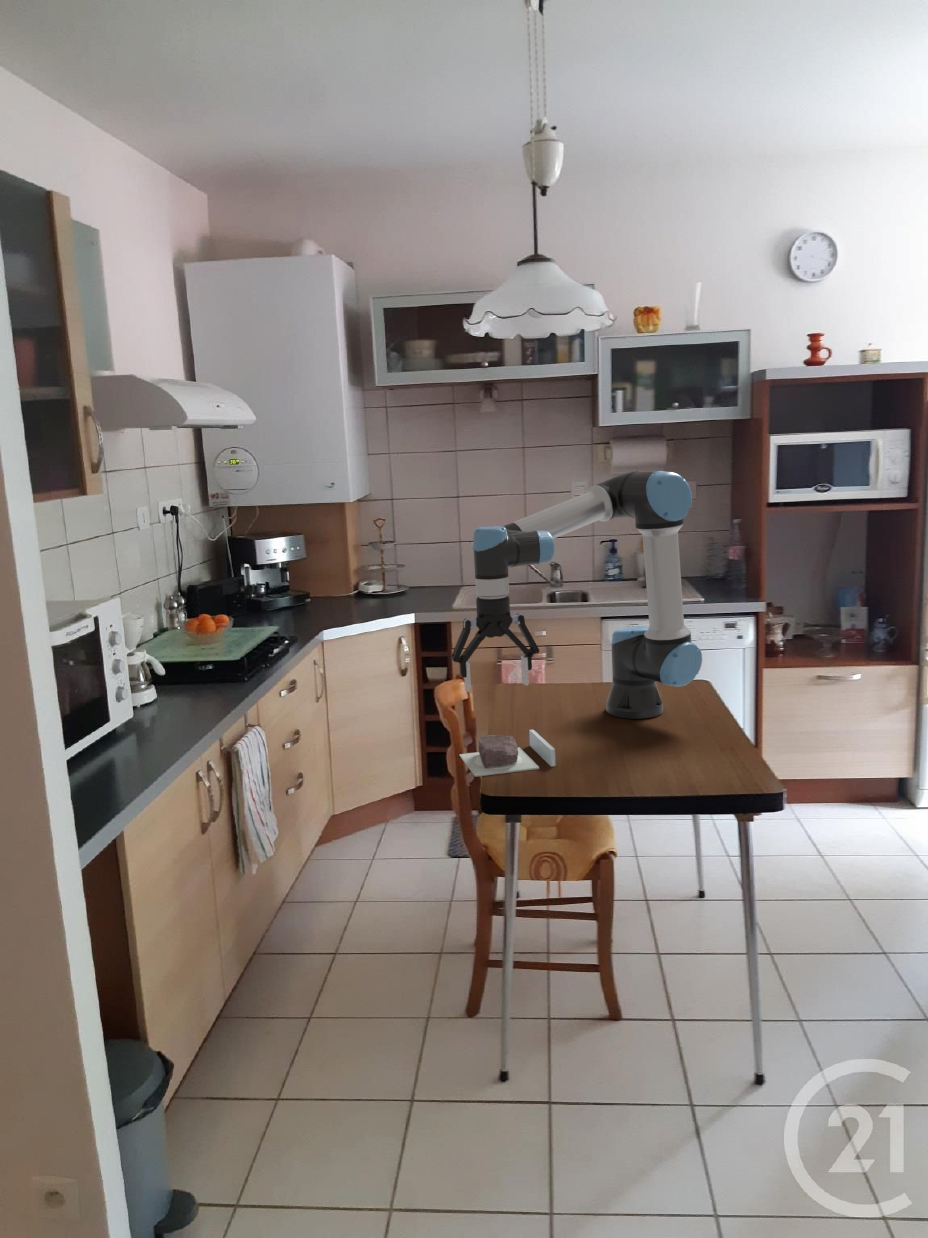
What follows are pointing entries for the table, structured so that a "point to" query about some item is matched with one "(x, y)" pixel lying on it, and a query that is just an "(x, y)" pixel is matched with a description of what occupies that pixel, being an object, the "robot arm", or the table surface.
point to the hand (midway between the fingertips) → (497, 687)
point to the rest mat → (478, 769)
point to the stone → (497, 750)
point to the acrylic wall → (542, 747)
